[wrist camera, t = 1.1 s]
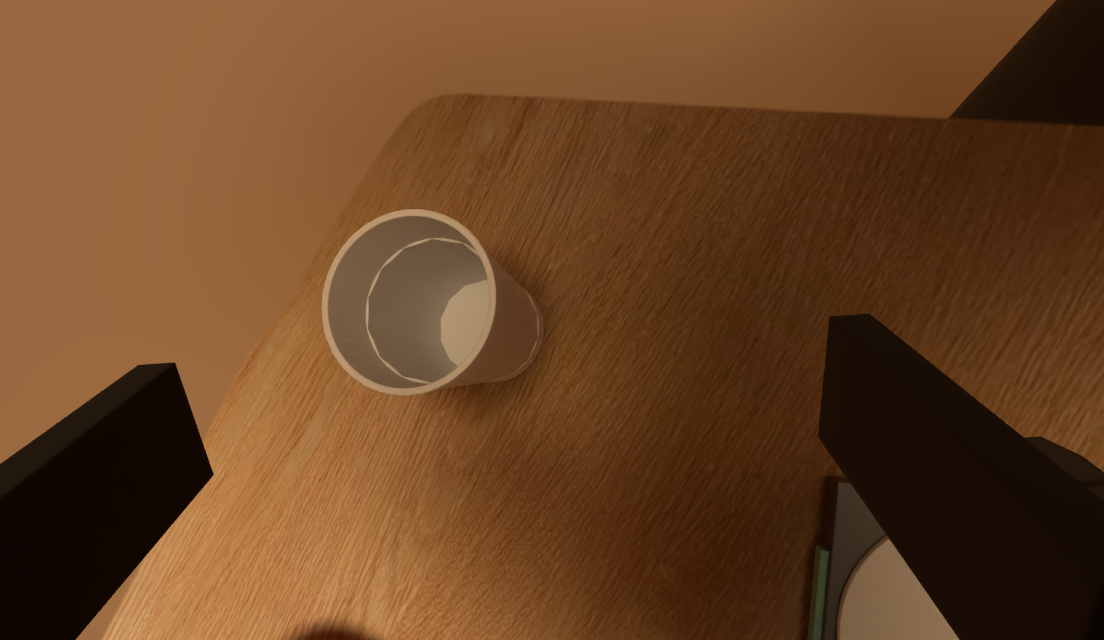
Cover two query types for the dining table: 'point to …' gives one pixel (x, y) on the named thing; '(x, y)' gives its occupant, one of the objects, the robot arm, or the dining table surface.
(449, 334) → the cup
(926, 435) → the robot arm
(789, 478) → the dining table surface
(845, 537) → the scale
